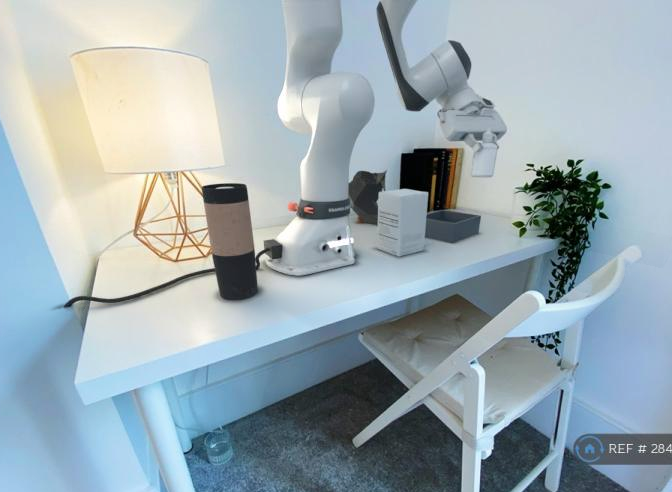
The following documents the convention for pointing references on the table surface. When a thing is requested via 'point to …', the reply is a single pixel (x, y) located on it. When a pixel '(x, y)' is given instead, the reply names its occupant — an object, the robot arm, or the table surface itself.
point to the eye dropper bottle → (485, 157)
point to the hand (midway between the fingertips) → (487, 150)
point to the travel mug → (231, 239)
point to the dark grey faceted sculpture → (366, 195)
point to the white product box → (401, 221)
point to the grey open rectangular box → (451, 225)
